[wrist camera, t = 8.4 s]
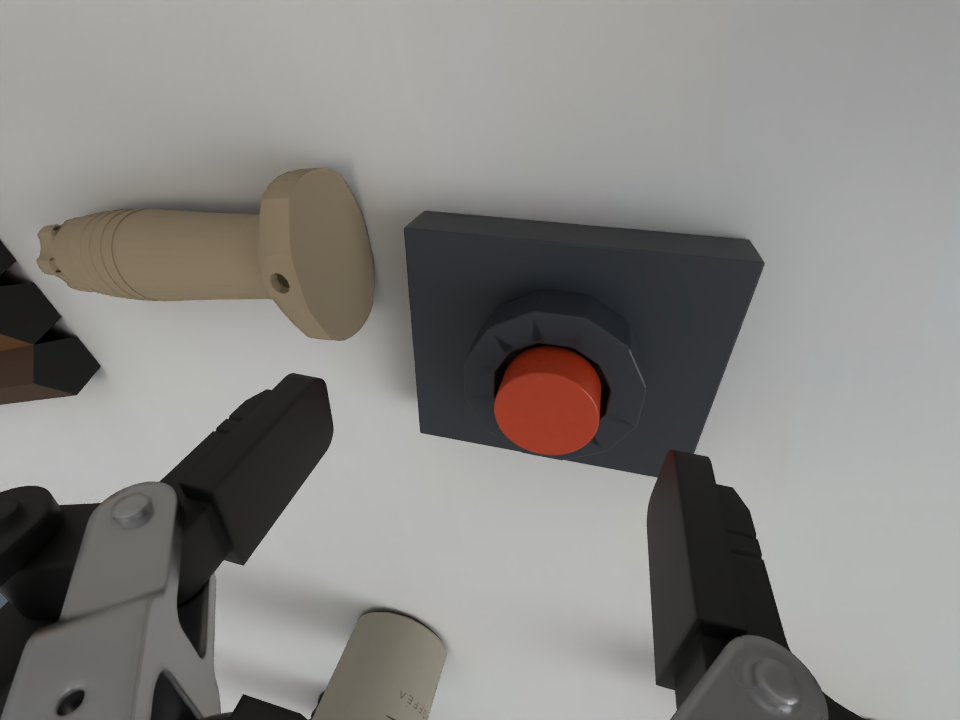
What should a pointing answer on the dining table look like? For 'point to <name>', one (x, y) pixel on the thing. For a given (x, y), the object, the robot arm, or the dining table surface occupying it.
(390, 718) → the travel mug
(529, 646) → the dining table surface
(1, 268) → the pan flute
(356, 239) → the handle
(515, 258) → the button housing
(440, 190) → the dining table surface
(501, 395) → the button
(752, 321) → the dining table surface
